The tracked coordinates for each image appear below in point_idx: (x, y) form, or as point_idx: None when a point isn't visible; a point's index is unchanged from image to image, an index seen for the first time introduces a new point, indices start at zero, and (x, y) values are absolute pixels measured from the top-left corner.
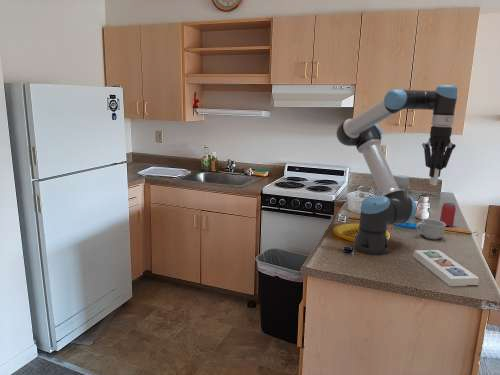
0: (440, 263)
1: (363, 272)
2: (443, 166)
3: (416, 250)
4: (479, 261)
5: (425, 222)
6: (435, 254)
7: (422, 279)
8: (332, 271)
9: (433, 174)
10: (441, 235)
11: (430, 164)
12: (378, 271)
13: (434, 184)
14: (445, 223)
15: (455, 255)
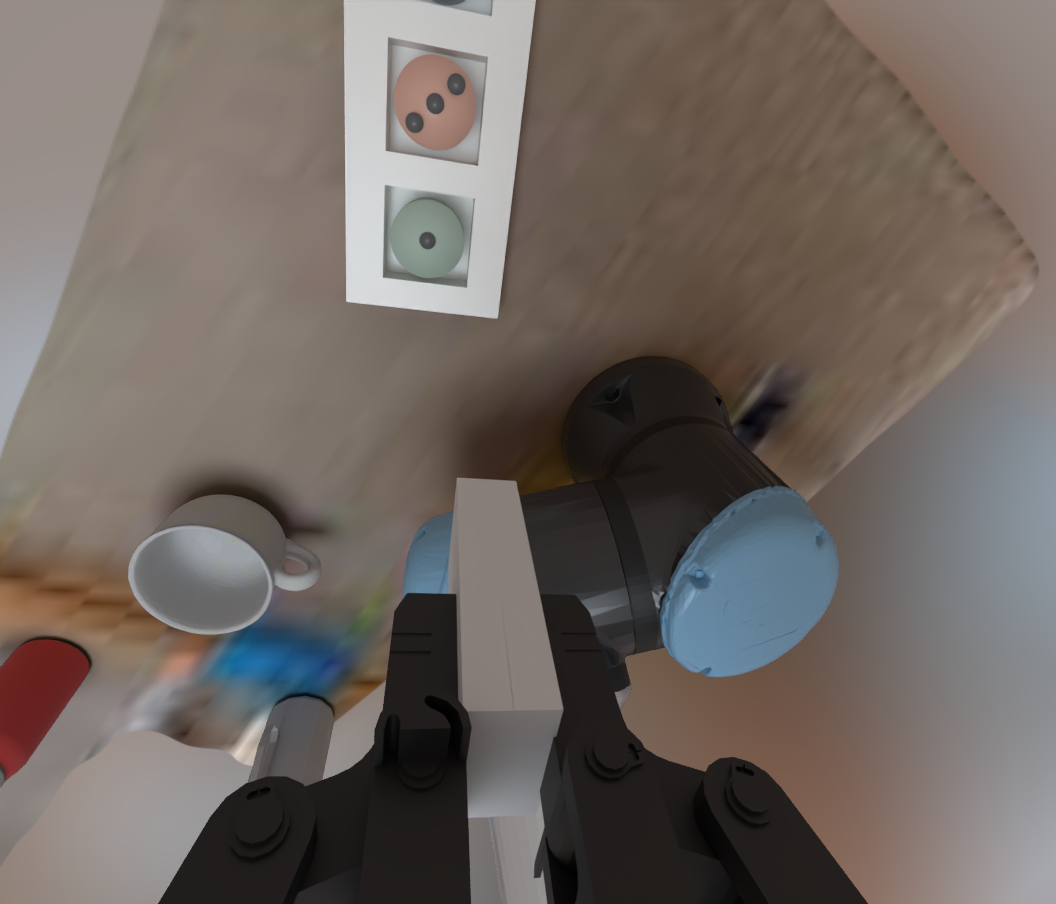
0: (472, 92)
1: (864, 176)
2: (316, 818)
3: (486, 315)
4: (114, 181)
5: (232, 613)
6: (426, 218)
7: (639, 14)
8: (982, 217)
9: (547, 632)
10: (192, 501)
11: (777, 857)
12: (789, 171)
13: (499, 489)
14: (61, 657)
15: (230, 290)
